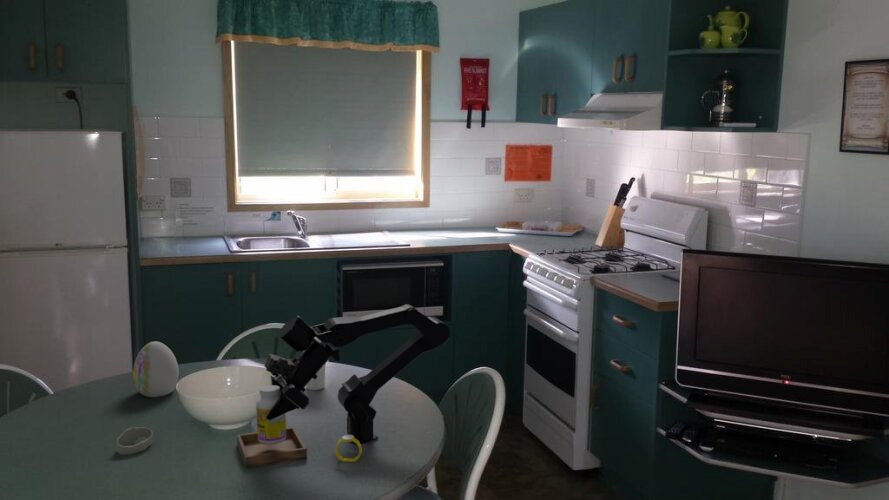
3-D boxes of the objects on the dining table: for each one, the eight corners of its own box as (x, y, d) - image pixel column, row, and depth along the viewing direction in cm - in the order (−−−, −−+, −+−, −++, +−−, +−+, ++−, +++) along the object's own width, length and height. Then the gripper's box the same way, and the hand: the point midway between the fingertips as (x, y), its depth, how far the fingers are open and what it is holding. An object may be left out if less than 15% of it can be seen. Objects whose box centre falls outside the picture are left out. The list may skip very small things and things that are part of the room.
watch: (335, 464, 191) (333, 439, 190) (337, 459, 193) (335, 435, 192) (361, 462, 190) (359, 438, 189) (363, 457, 193) (360, 433, 192)
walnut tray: (294, 436, 205) (294, 427, 205) (306, 458, 192) (306, 448, 192) (237, 444, 200) (236, 434, 200) (245, 468, 187) (245, 457, 187)
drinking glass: (325, 392, 237) (324, 341, 235) (301, 391, 237) (300, 341, 235) (328, 384, 244) (328, 335, 241) (306, 383, 244) (304, 334, 241)
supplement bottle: (255, 438, 197) (252, 386, 195) (282, 433, 200) (280, 382, 198) (261, 447, 191) (258, 394, 189) (289, 442, 194) (287, 389, 192)
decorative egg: (135, 387, 240) (132, 337, 237) (179, 383, 243) (177, 334, 241) (133, 401, 228) (129, 349, 226) (179, 397, 232) (176, 346, 229)
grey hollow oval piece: (143, 439, 203) (142, 420, 202) (160, 445, 200) (159, 425, 199) (110, 452, 196) (109, 432, 195) (127, 458, 192) (126, 438, 192)
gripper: (277, 332, 202) (233, 381, 200) (292, 353, 185) (245, 407, 183) (310, 359, 206) (267, 407, 204) (328, 382, 189) (282, 435, 187)
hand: (265, 413), depth 194 cm, fingers closed on supplement bottle, 7 cm apart
